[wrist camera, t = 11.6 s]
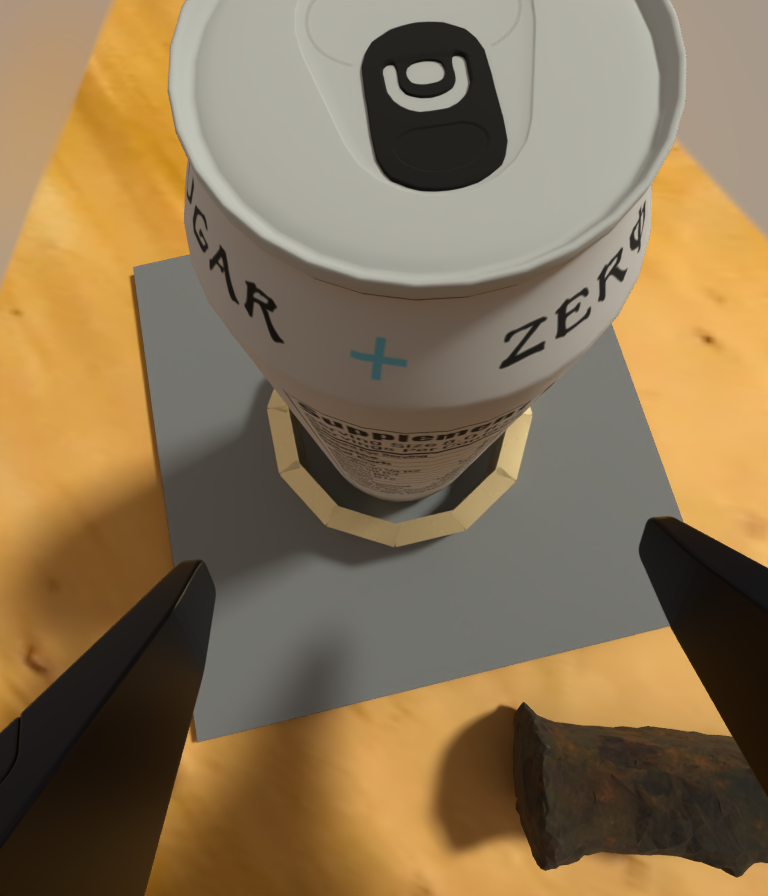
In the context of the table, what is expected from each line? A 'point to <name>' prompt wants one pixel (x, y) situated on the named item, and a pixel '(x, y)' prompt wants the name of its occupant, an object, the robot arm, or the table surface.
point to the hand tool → (636, 794)
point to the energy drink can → (420, 204)
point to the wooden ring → (375, 529)
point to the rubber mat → (382, 566)
